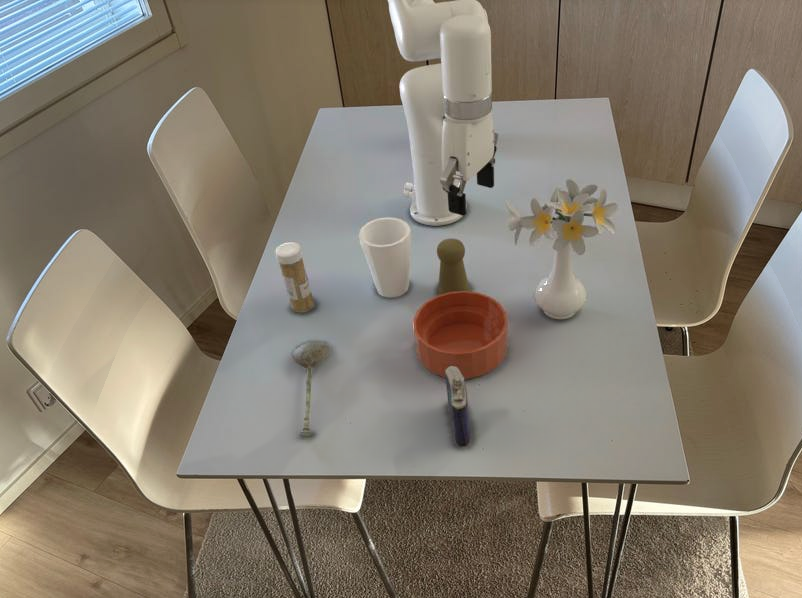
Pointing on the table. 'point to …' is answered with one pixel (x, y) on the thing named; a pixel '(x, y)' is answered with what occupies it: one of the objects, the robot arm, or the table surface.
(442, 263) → the olive peg figure
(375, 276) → the foam cup
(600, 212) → the flower vase
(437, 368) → the orange plant pot
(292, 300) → the sprinkles bottle
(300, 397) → the table surface
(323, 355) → the soupspoon
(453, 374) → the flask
